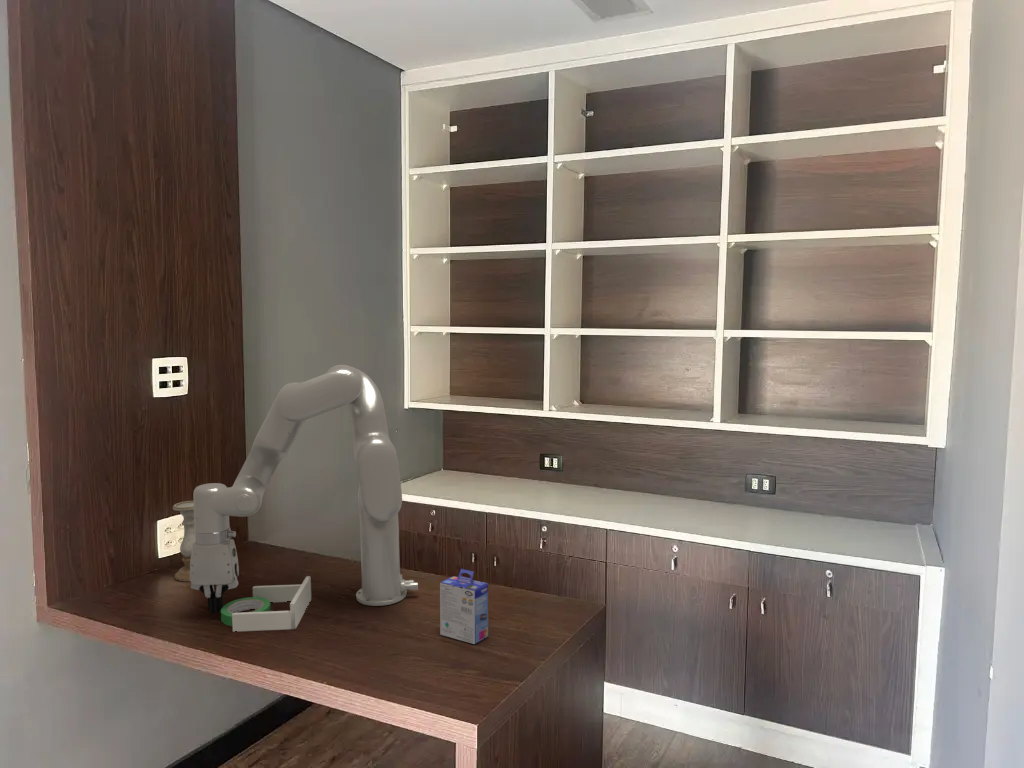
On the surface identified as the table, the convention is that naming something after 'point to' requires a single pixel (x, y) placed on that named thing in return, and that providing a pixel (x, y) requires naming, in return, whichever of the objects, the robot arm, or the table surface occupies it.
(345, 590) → the table surface
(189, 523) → the candle holder
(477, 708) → the table surface
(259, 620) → the box
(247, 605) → the tape roll
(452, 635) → the ink cartridge box
